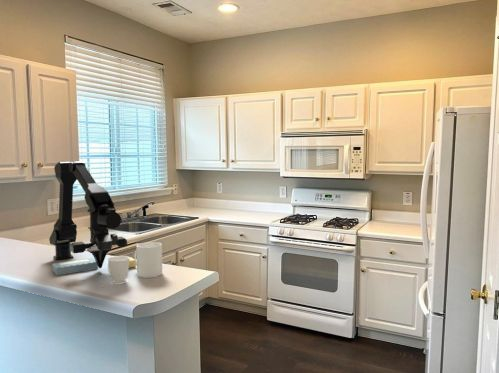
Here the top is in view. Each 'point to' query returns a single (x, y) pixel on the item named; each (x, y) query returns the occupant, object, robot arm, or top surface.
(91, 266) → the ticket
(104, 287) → the top surface
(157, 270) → the mug
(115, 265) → the cup
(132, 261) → the yellow box
